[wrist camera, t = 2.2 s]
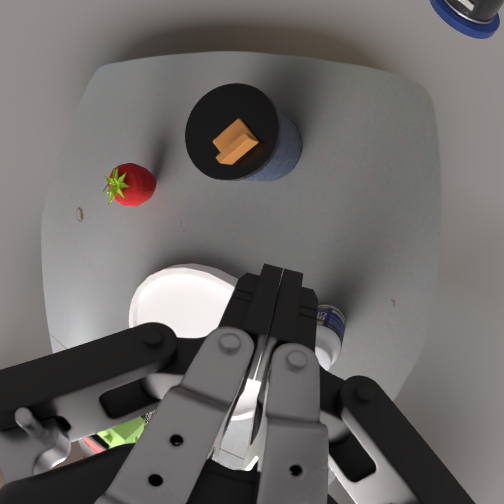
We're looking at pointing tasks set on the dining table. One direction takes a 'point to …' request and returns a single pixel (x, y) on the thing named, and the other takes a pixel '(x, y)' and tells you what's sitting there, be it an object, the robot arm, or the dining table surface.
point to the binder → (96, 443)
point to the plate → (190, 310)
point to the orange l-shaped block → (234, 142)
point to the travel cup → (258, 122)
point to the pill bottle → (329, 335)
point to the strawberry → (130, 184)
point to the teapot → (124, 432)
